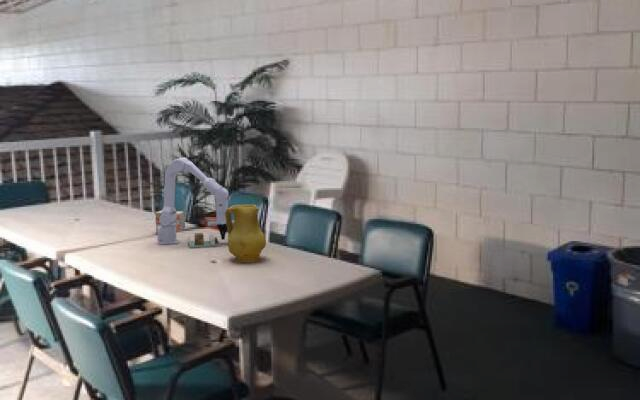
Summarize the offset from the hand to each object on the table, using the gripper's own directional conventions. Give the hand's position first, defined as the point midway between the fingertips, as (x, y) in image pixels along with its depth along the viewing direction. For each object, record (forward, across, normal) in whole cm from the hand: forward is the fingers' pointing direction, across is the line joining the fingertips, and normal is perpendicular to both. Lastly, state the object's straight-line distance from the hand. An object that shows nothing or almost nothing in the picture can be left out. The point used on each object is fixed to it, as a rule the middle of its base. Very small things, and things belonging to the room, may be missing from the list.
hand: (223, 239), depth 327 cm
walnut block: (+2, -12, 0) cm, 12 cm away
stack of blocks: (+3, -24, +40) cm, 46 cm away
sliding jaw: (+2, -5, 0) cm, 5 cm away
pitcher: (+2, +7, -34) cm, 35 cm away
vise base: (+2, -9, 0) cm, 10 cm away
